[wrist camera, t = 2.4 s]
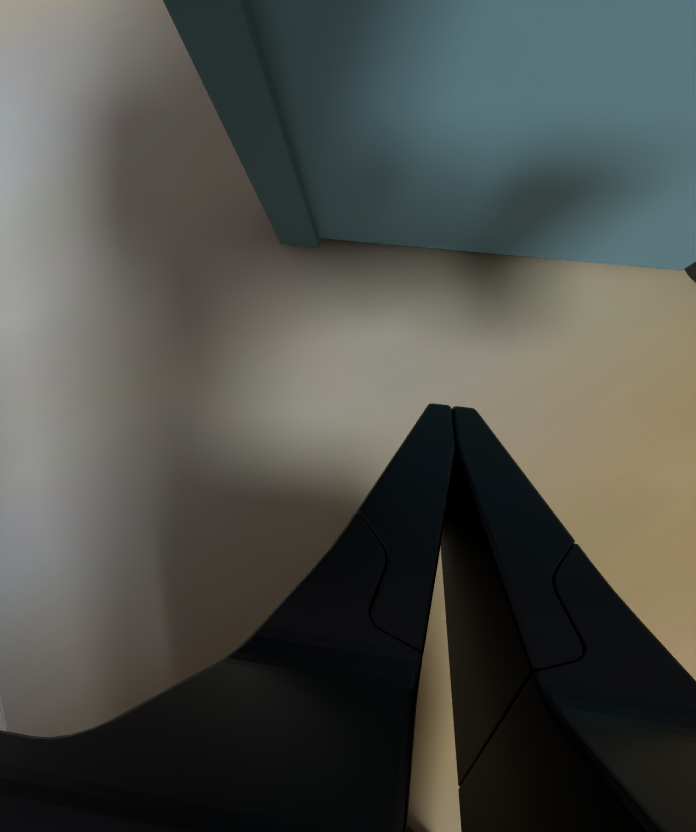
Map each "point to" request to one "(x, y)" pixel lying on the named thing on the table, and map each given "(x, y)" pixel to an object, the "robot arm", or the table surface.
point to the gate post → (692, 271)
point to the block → (2, 718)
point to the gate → (462, 121)
